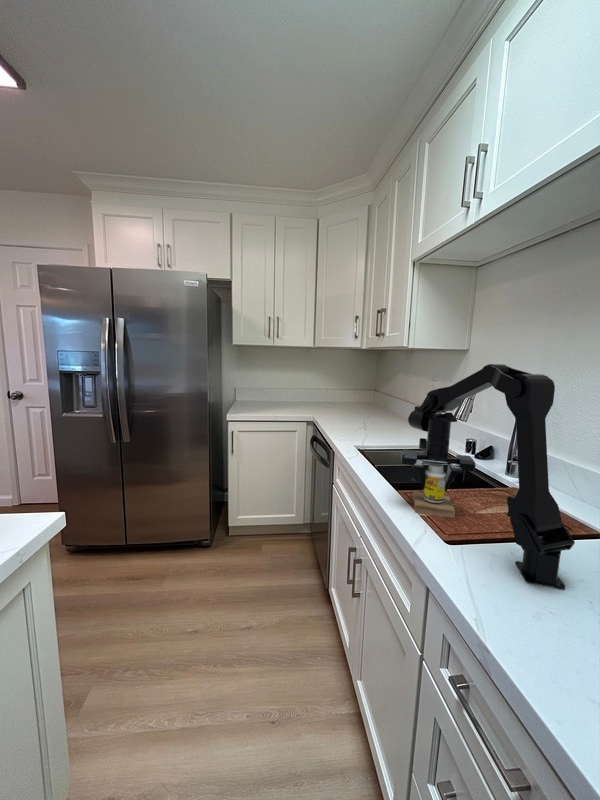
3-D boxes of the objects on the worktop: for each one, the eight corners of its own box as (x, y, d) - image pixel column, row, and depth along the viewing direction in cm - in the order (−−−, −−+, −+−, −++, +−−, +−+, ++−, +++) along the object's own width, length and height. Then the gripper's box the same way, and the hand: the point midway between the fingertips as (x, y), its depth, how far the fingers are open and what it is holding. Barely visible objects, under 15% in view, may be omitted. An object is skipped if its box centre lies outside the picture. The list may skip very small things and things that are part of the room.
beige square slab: (454, 518, 89) (455, 511, 89) (415, 512, 92) (415, 505, 92) (448, 502, 99) (449, 496, 98) (413, 498, 101) (413, 491, 101)
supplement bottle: (418, 496, 97) (421, 462, 95) (434, 494, 98) (437, 461, 97) (431, 504, 91) (434, 468, 90) (448, 502, 93) (451, 467, 92)
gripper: (469, 432, 98) (464, 483, 100) (402, 427, 103) (399, 476, 105) (478, 441, 87) (472, 498, 89) (403, 434, 92) (399, 489, 94)
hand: (434, 489), depth 94 cm, fingers closed on supplement bottle, 5 cm apart
